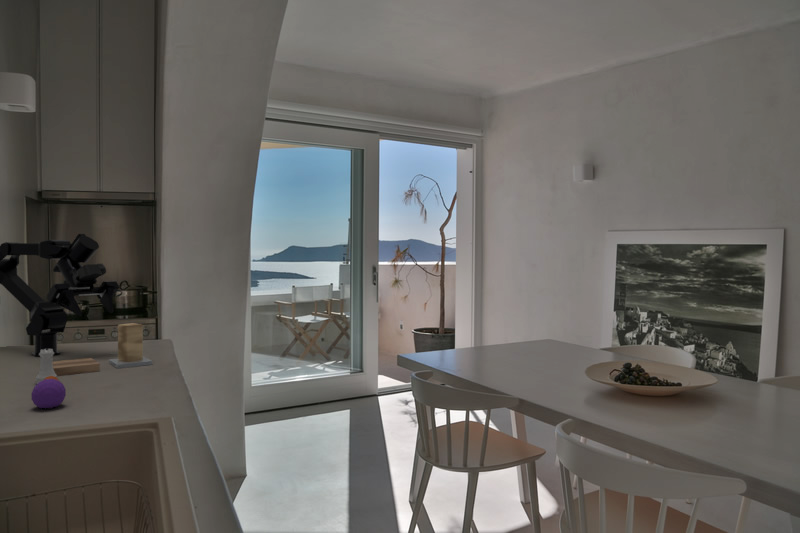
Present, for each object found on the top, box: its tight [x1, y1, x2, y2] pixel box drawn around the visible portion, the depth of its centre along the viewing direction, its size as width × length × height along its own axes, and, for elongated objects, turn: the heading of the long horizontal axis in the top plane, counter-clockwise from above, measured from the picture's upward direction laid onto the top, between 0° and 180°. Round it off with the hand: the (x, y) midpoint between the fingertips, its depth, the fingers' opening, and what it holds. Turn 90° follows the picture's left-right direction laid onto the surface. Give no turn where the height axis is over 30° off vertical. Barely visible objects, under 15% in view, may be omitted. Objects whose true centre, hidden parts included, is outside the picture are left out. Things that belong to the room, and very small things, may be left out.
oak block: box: [117, 322, 144, 362], centre depth 161 cm, size 4×4×10 cm
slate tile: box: [108, 356, 153, 369], centre depth 162 cm, size 9×9×1 cm
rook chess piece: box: [35, 349, 58, 385], centre depth 138 cm, size 4×4×8 cm
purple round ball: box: [31, 376, 67, 410], centre depth 123 cm, size 6×6×20 cm
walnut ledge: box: [52, 357, 101, 377], centre depth 152 cm, size 10×11×2 cm
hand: (96, 313), depth 164 cm, fingers open, 9 cm apart
